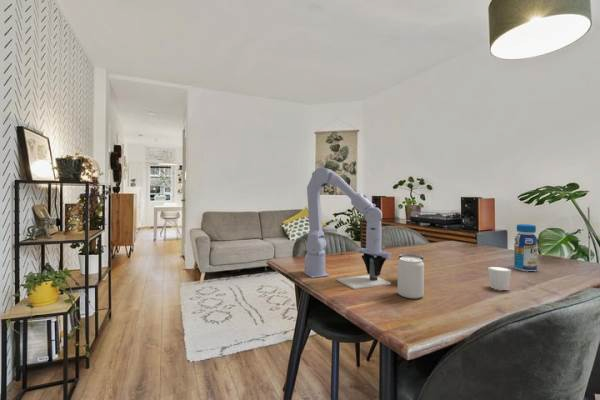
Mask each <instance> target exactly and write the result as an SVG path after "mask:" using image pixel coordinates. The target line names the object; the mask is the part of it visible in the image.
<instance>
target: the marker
mask: <svg viewBox="0 0 600 400" xmlns="http://www.w3.org/2000/svg"><path fill="white" fill-rule="evenodd" d="M369 275H370V277H369V279H370V280H378V278H379V276H375V266H374V261H373V258H370V274H369Z"/></svg>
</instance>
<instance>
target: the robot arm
mask: <svg viewBox="0 0 600 400" xmlns="http://www.w3.org/2000/svg"><path fill="white" fill-rule="evenodd" d="M328 185H332V186H335V187H337V188H338V189H339V190H340V191H342V192H343V193H344V195H346V196H347V197H348V198H350V202H351V203H350V204H351V205H352V206H353V207H354V208H355V209H356V210H357V211H358V212H359V213H360V214H361V215H362V216H364V217H365V218H364V219H365V220H366V227H365V228H366V231H365V232H366V234H365V237H366V239H365V242H366V243H365V246H366V247H358V248H357V253H358V254H363V255H361V259H362V260H363V263H364V265H365V268H366V273H367V275H370V258H373V261H374V266H375V276H378V277H379V276H380V275H381V272H382V268H383V266H384V263H385V262H386V260H391V259H392V258H393V257H392V254H393V253H392V252H389V251H384V250H382V249H383V248H382V244H383V243H382V241H383V240H382V236H383V235H382V231H383V229H382V221H381V220H382V218H383V212H382V210H381V209H380V208H379V207H378V206H377V205H376V204H375V203H373V202H372V201H370V200H369V199H368V196H367V195H366V194H363V193H361V192H360V193H359V192H358V193H357V192H356V191H355V190H354V189H353V188H352V186H351V185H349V184H348V183H347V181H345V180H344V179H343V177H341V176H340V175H339V174H338V173H336V172H335V171H334V170H333V169H331V168H326V167H324V166H320V167H317V168H316V169H315V170H314V171H312V173H311V178H310V180H309V182H308V184H307V186H306V195H307V197H306V198H307V211H308V223H309V224H308V225H309V232H308V233H307V241H306V243H305V248H306V251H307V253H306V254H305V256H304V270H302V273H303V274H305V275H306V276H308V277H309V278H311V279H314V278H321V277H322V278H323V277H329V276H330V274H328V273H327V272H326V251H325V249H326V248H327V245H328V243H327V239H326V237H325V232H324V230H323V222H322V207H321V206H322V205H321V191H322V190H323V189H324V188H325V187H326V186H328ZM376 206H377V207H376Z"/></svg>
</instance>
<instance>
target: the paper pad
mask: <svg viewBox="0 0 600 400" xmlns="http://www.w3.org/2000/svg"><path fill="white" fill-rule="evenodd" d="M369 277H370V274H365V275H357V276H356V275H355V276H350V277H349V276H348V277H341V278H336V280H337V282H339V283H341V284H343V285H345V286H347V287H349V288H351V289H353V290H360V289H367V288H375V287H381V286H387V285H388V286H389V285H392V282H391V281H388V280H386V279H384V278H381V277H378V280H370V279H369Z"/></svg>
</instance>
